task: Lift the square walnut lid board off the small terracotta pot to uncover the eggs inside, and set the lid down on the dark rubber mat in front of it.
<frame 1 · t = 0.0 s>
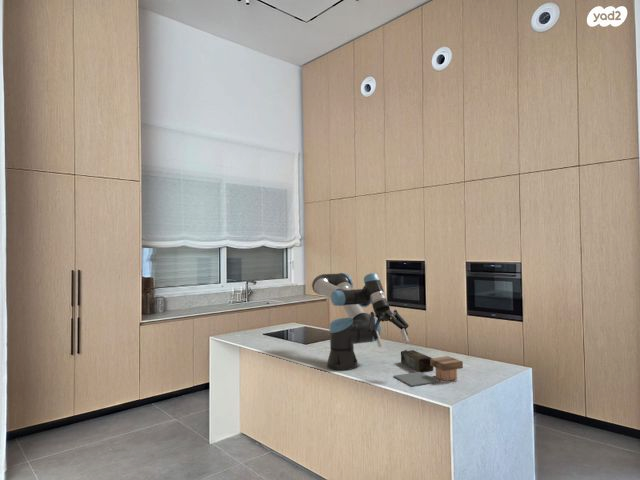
hand: (394, 344, 191), 15 cm above the countertop, tool tilted 35°, fingers open, 13 cm apart
pot: (446, 377, 190), on the countertop
beverage carton: (416, 367, 209), on the countertop
lid: (446, 366, 191), point 5 cm above the countertop, touching pot
mat: (415, 379, 188), on the countertop
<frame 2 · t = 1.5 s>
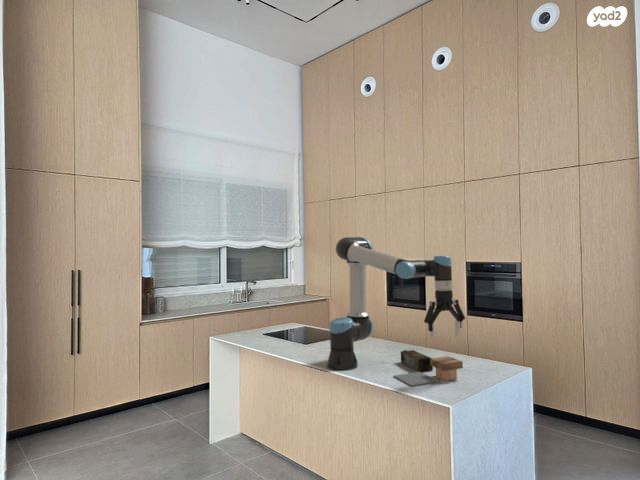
hand: (445, 337, 191), 18 cm above the countertop, tool pointing down, fingers open, 13 cm apart
nothing on the countertop moved.
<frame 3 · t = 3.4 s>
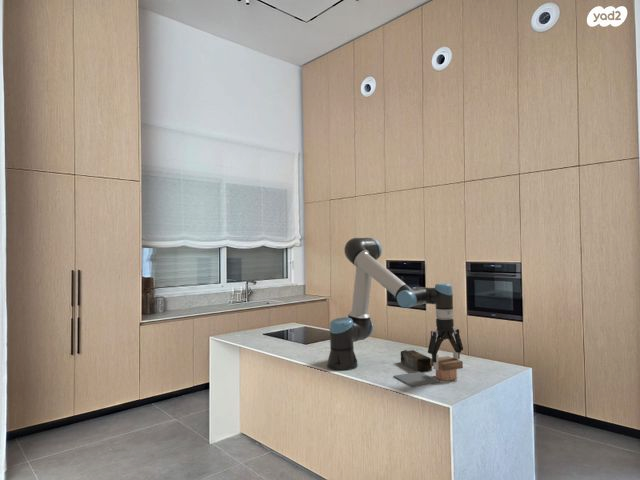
hand: (446, 367, 191), 4 cm above the countertop, tool pointing down, fingers closed on lid, 10 cm apart
lid: (446, 366, 191), point 5 cm above the countertop, touching gripper, pot
everything else where it was.
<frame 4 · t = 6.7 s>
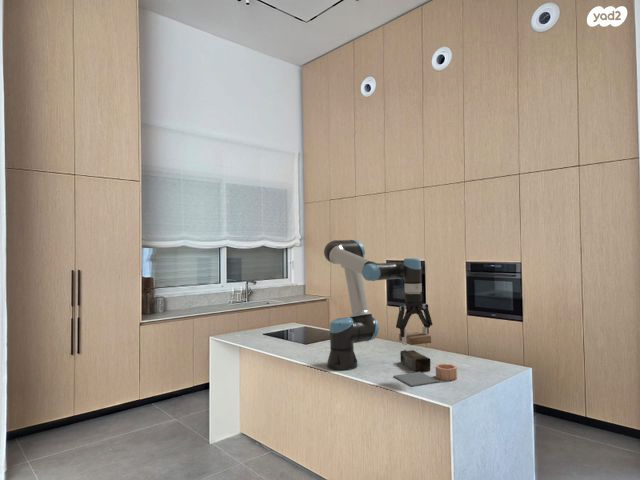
hand: (414, 343, 189), 16 cm above the countertop, tool pointing down, fingers closed on lid, 10 cm apart
lid: (415, 341, 189), point 17 cm above the countertop, touching gripper
everything else where it was.
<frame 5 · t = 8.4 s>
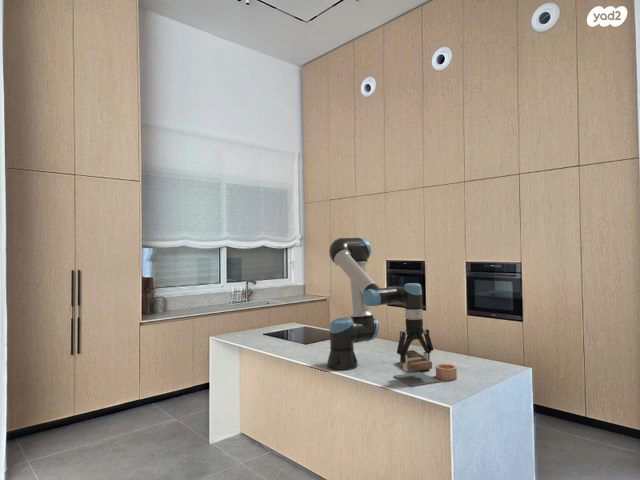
hand: (415, 368, 188), 5 cm above the countertop, tool pointing down, fingers closed on lid, 10 cm apart
lid: (415, 367, 188), point 5 cm above the countertop, touching gripper
when the fingers open (2 cm above the countertop, at t = 10.0 s): lid drops 2 cm, resting on mat.
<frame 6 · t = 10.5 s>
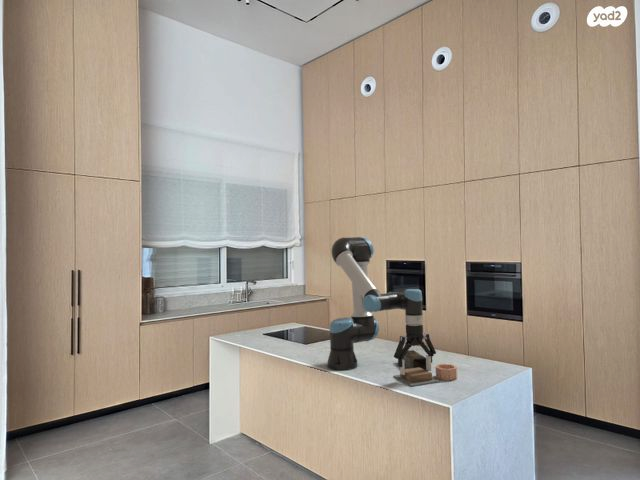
hand: (415, 372, 189), 3 cm above the countertop, tool pointing down, fingers open, 13 cm apart
lid: (415, 378, 188), point 1 cm above the countertop, touching mat
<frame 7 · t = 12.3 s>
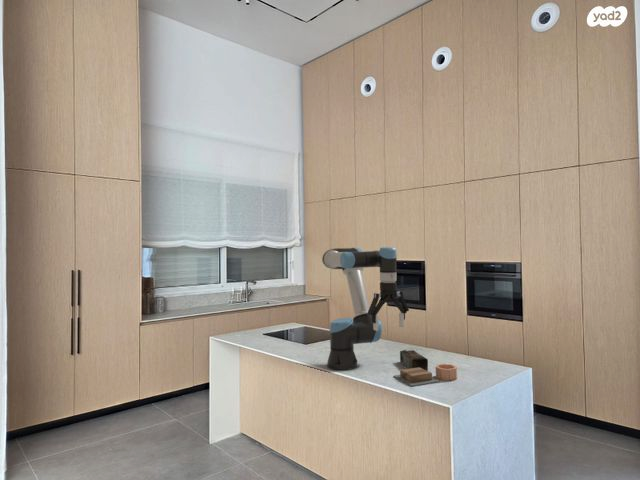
hand: (388, 328, 192), 22 cm above the countertop, tool pointing down, fingers open, 13 cm apart
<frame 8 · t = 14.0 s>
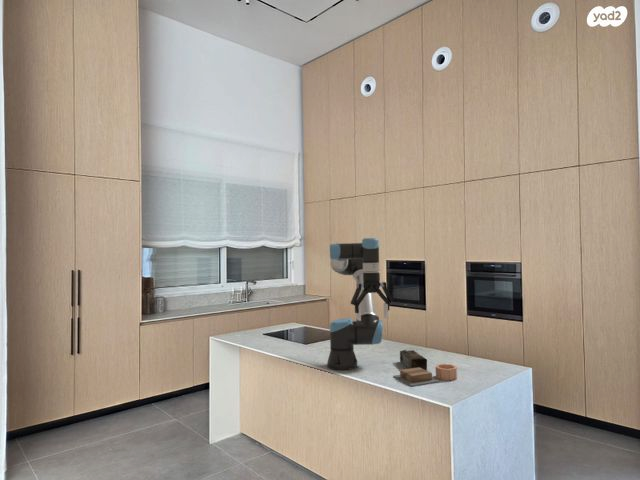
hand: (372, 319, 192), 27 cm above the countertop, tool pointing down, fingers open, 13 cm apart
at the end: lid inside the target area on the mat (0.0 cm from its centre), point 0.6 cm above the mat's base; lid touching mat; the gripper is holding nothing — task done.
